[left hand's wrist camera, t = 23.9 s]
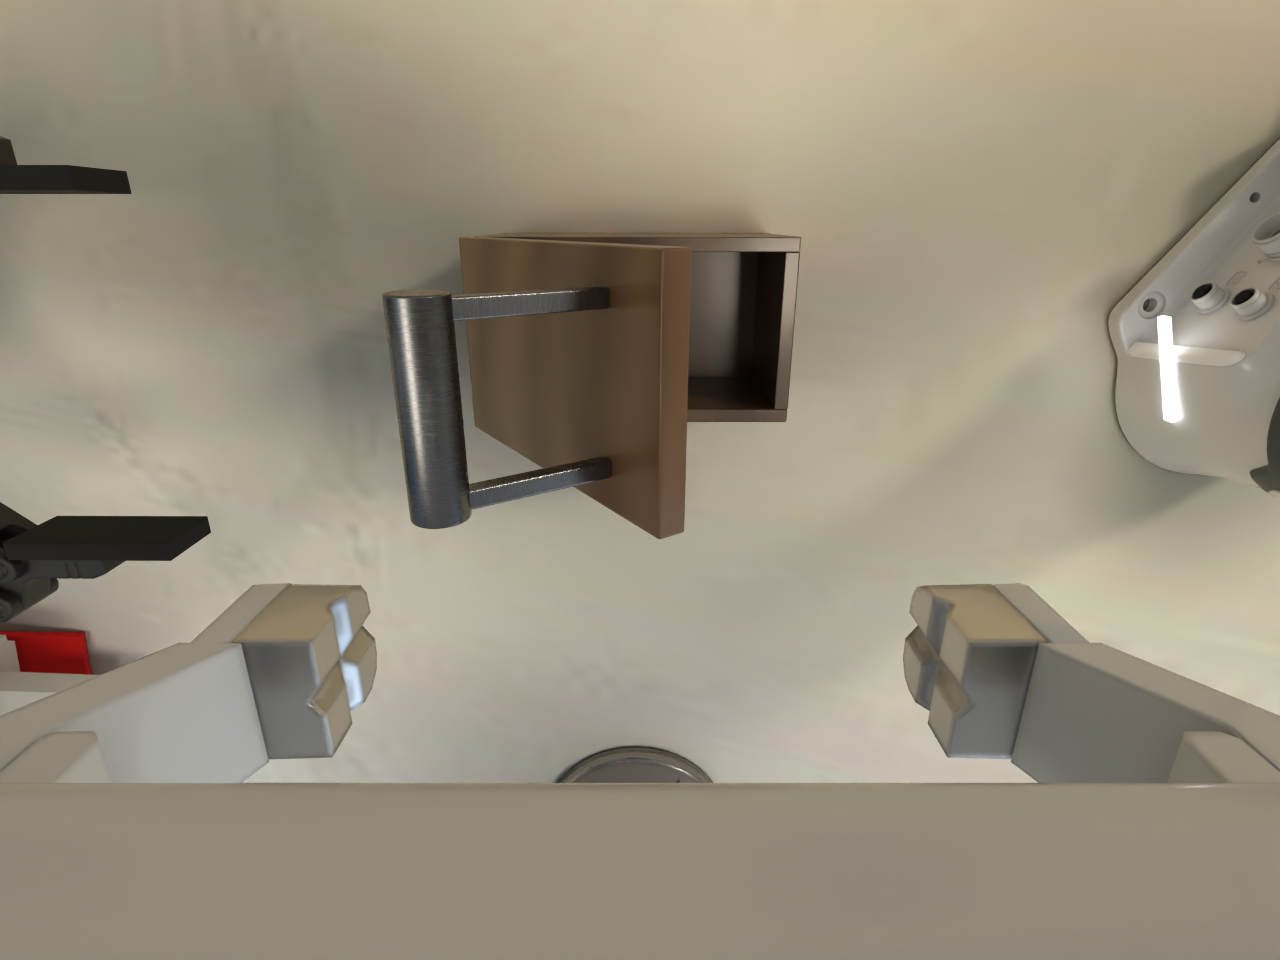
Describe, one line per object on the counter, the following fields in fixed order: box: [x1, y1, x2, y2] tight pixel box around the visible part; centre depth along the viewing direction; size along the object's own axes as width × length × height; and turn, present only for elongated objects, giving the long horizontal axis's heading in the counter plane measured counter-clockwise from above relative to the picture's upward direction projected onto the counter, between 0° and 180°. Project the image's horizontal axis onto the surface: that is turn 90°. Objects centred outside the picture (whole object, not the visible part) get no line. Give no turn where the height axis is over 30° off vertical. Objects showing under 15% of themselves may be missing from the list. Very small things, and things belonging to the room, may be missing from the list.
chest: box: [474, 233, 801, 422], centre depth 41 cm, size 17×10×9 cm, turn 90°
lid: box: [382, 237, 691, 539], centre depth 27 cm, size 17×10×8 cm
